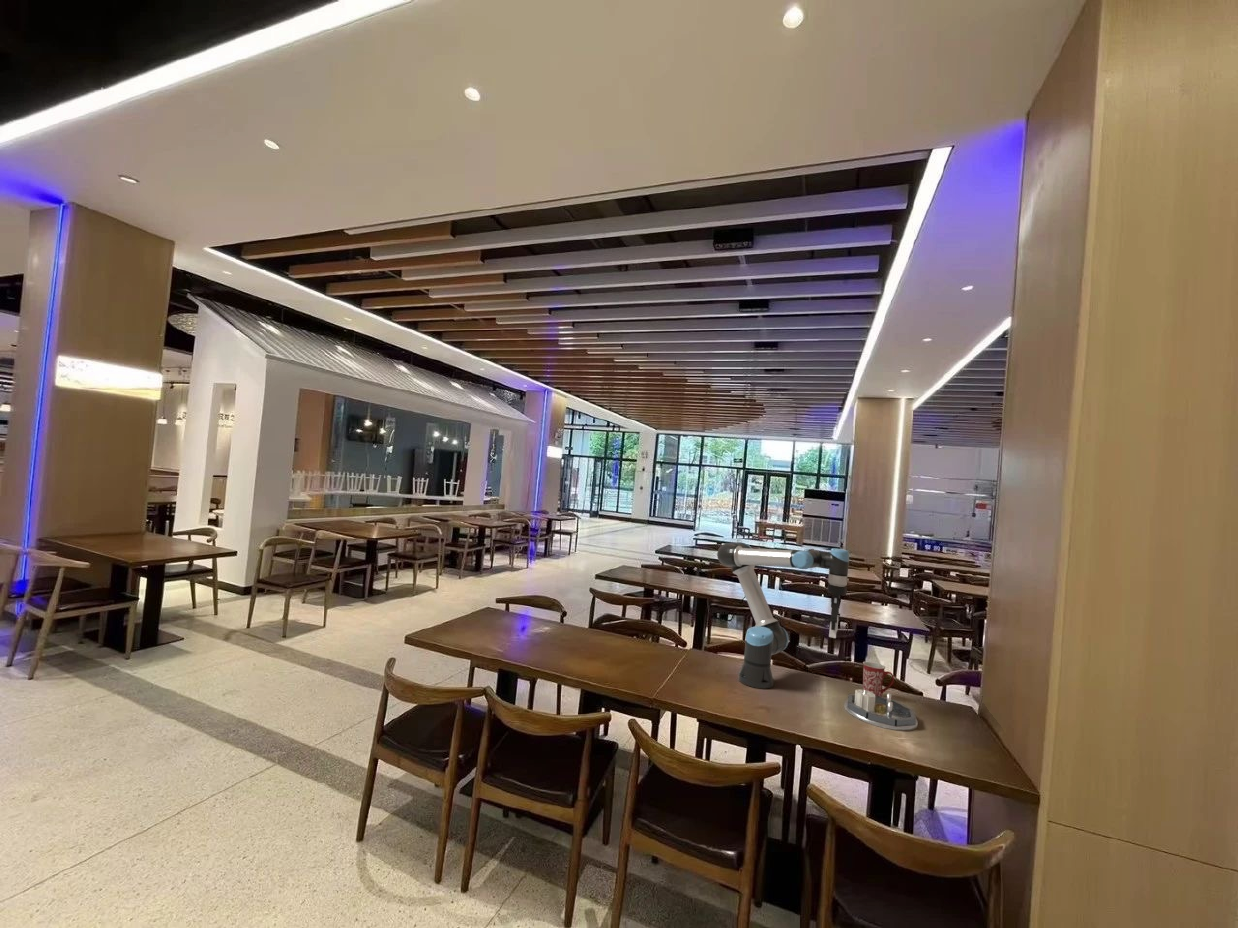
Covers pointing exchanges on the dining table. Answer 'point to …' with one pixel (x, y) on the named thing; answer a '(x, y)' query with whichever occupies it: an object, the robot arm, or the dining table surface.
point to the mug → (874, 677)
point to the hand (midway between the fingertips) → (833, 634)
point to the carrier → (884, 713)
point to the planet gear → (865, 700)
